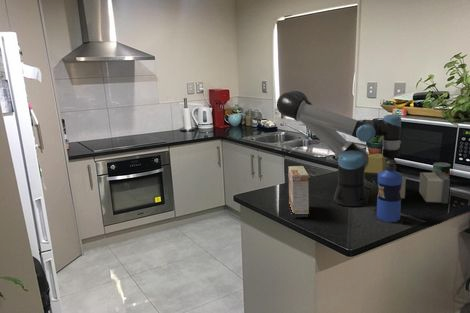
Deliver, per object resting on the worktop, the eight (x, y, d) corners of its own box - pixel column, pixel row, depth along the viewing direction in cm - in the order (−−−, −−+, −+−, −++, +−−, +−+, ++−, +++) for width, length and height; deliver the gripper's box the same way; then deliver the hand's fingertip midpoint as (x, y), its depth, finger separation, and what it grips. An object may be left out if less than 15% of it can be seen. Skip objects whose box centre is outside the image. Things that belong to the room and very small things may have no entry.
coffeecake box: (288, 206, 172) (287, 166, 168) (304, 205, 172) (303, 165, 168) (292, 218, 158) (291, 175, 153) (309, 218, 157) (309, 174, 153)
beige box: (384, 197, 177) (385, 177, 174) (382, 193, 182) (383, 173, 180) (404, 198, 174) (405, 177, 172) (402, 194, 180) (403, 174, 178)
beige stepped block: (426, 202, 168) (428, 179, 165) (418, 191, 183) (420, 169, 181) (448, 203, 165) (450, 179, 163) (438, 191, 181) (440, 169, 178)
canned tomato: (445, 188, 186) (447, 167, 183) (429, 185, 191) (430, 164, 189) (451, 184, 191) (453, 163, 188) (435, 181, 196) (436, 161, 194)
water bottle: (394, 213, 157) (397, 156, 152) (404, 222, 148) (407, 162, 143) (372, 214, 157) (374, 158, 152) (381, 223, 148) (383, 163, 143)
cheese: (368, 168, 229) (369, 152, 227) (386, 170, 223) (387, 154, 221) (363, 172, 221) (363, 156, 219) (382, 174, 215) (382, 157, 212)
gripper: (404, 154, 161) (402, 200, 166) (395, 143, 185) (393, 183, 189) (386, 154, 163) (384, 199, 168) (379, 143, 186) (378, 183, 191)
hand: (389, 191), depth 178 cm, fingers open, 13 cm apart
